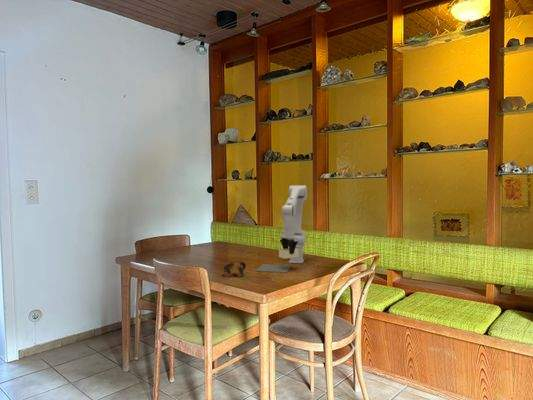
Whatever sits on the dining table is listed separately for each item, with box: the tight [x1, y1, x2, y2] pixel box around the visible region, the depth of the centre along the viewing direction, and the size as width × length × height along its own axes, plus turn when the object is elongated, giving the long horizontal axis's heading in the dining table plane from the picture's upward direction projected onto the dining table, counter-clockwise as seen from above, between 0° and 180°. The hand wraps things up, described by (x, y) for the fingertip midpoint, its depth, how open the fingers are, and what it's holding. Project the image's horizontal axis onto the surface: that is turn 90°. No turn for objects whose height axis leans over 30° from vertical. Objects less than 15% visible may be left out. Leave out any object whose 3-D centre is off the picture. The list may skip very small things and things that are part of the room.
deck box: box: [278, 247, 298, 259], centre depth 213 cm, size 9×5×4 cm, turn 121°
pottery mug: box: [222, 260, 247, 278], centre depth 201 cm, size 12×10×8 cm
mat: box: [255, 263, 293, 274], centre depth 214 cm, size 16×16×1 cm
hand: (288, 253), depth 213 cm, fingers closed on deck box, 5 cm apart
